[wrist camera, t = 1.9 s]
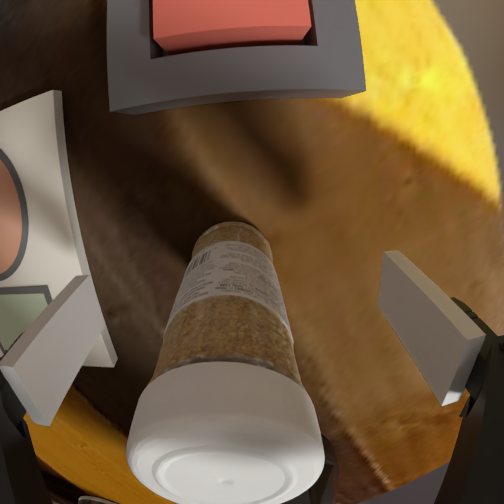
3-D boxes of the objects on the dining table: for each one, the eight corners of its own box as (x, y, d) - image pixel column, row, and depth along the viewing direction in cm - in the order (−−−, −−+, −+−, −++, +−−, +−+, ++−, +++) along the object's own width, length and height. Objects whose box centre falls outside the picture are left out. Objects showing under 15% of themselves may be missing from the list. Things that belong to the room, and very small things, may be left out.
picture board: (117, 358, 21) (113, 368, 20) (-9, 348, 20) (-15, 355, 19) (61, 91, 14) (52, 89, 13) (-65, 149, 14) (-74, 151, 13)
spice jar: (225, 306, 19) (214, 525, 7) (176, 249, 18) (83, 458, 5) (288, 264, 18) (359, 480, 6) (240, 201, 17) (244, 391, 4)
